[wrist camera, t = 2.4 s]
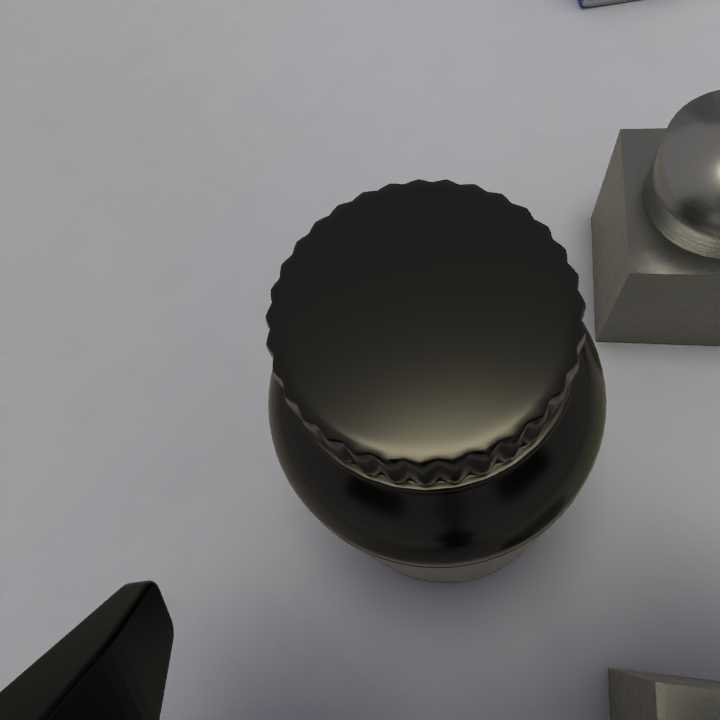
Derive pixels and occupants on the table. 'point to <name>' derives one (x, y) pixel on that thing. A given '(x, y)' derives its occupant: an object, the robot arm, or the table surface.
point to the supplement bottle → (433, 378)
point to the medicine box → (600, 2)
